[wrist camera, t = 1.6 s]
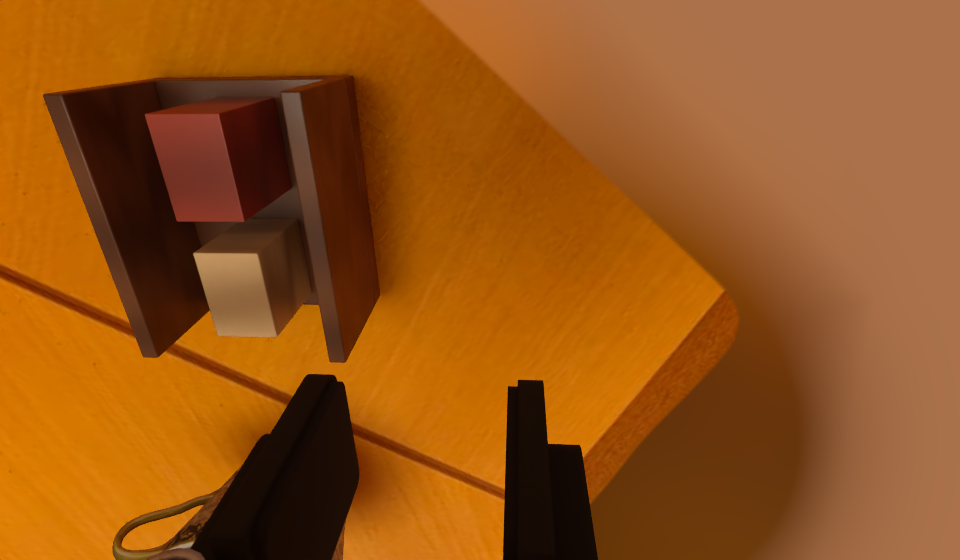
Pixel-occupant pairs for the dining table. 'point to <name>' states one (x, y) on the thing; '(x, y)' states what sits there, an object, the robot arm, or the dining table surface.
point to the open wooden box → (226, 202)
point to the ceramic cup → (189, 531)
